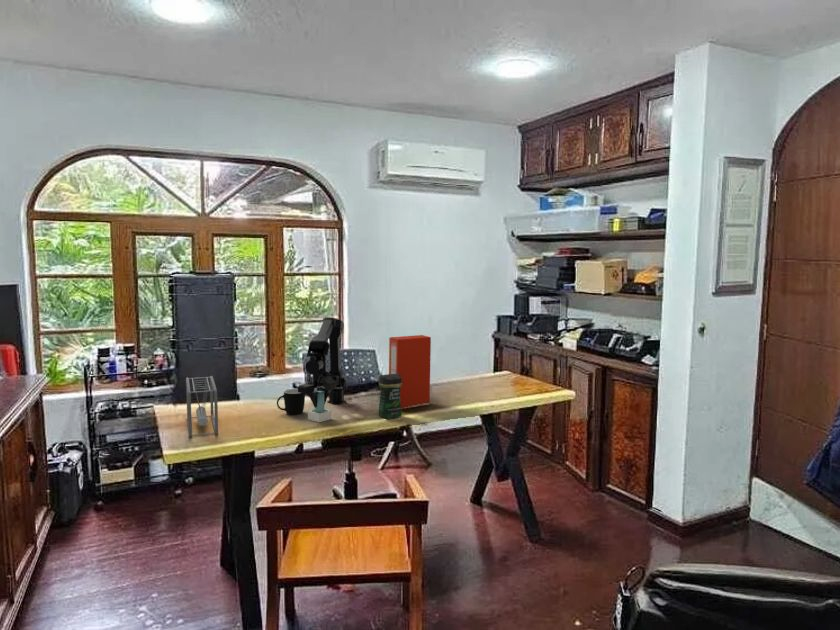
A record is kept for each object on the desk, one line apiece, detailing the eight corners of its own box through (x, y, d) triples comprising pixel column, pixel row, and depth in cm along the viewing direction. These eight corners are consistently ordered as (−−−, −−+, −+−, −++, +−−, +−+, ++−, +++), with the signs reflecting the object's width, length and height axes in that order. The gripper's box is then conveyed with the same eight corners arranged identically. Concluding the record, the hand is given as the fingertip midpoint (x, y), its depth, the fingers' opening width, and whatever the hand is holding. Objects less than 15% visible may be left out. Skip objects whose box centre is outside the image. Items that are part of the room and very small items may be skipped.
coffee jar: (384, 420, 245) (384, 377, 243) (375, 416, 252) (376, 373, 250) (404, 417, 250) (404, 374, 248) (395, 413, 257) (395, 371, 255)
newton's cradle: (187, 417, 246) (185, 376, 244) (213, 415, 250) (212, 374, 248) (188, 439, 219) (187, 392, 217) (218, 436, 223) (217, 390, 221)
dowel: (320, 415, 247) (319, 390, 246) (326, 417, 245) (326, 391, 244) (312, 418, 244) (312, 392, 243) (319, 419, 242) (319, 393, 241)
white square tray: (320, 416, 250) (320, 407, 249) (331, 419, 245) (331, 410, 245) (308, 420, 244) (307, 411, 244) (319, 423, 240) (318, 413, 240)
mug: (303, 410, 259) (303, 388, 258) (306, 415, 251) (306, 392, 250) (275, 412, 255) (275, 389, 254) (278, 418, 247) (277, 394, 246)
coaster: (353, 413, 255) (353, 412, 255) (370, 418, 249) (370, 416, 249) (336, 418, 247) (336, 417, 247) (353, 423, 241) (353, 421, 241)
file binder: (429, 405, 270) (430, 337, 267) (397, 410, 261) (397, 339, 258) (420, 401, 277) (421, 334, 273) (388, 406, 268) (389, 337, 265)
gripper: (315, 375, 230) (315, 414, 232) (349, 368, 245) (349, 405, 246) (296, 371, 237) (297, 409, 239) (330, 365, 252) (331, 400, 253)
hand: (319, 406), depth 244 cm, fingers closed on dowel, 4 cm apart
